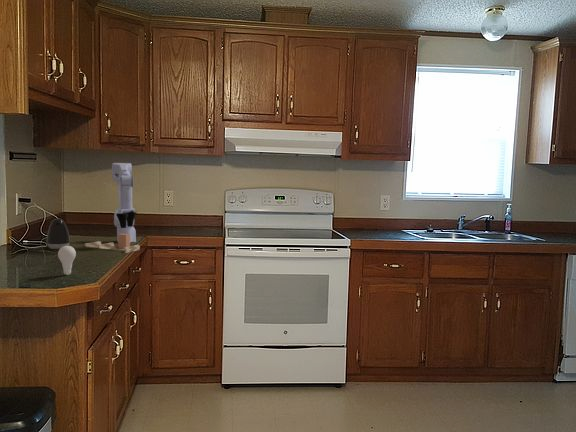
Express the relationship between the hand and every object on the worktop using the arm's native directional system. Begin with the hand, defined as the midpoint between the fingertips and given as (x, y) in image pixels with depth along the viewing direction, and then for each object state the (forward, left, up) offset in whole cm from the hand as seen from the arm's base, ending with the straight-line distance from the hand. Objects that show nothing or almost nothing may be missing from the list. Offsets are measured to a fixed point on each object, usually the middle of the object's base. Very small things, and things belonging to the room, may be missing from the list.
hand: (126, 227), depth 250 cm
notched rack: (+7, -3, -10) cm, 13 cm away
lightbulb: (+60, +23, -11) cm, 65 cm away
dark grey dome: (+20, -24, -11) cm, 33 cm away
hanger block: (+7, +4, -9) cm, 12 cm away
